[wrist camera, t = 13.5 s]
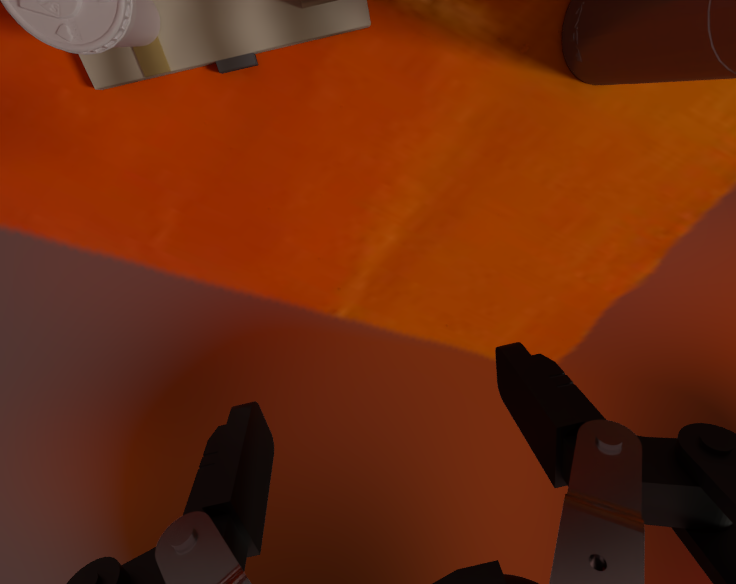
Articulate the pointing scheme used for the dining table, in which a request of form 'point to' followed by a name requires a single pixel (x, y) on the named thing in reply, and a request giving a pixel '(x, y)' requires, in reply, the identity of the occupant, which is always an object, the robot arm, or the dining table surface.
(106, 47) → the white drink cup
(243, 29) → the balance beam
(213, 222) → the dining table surface
